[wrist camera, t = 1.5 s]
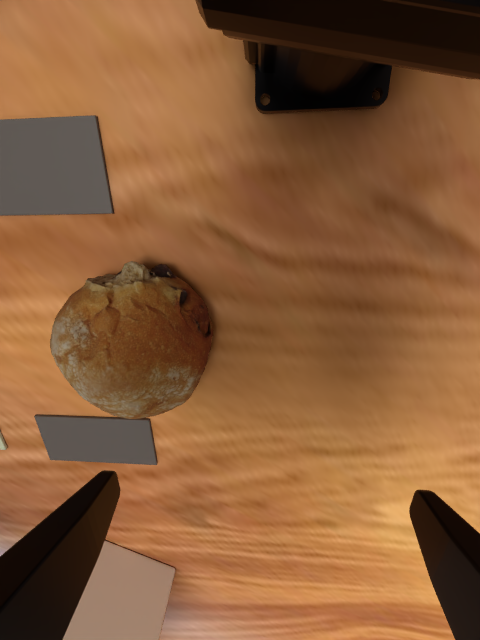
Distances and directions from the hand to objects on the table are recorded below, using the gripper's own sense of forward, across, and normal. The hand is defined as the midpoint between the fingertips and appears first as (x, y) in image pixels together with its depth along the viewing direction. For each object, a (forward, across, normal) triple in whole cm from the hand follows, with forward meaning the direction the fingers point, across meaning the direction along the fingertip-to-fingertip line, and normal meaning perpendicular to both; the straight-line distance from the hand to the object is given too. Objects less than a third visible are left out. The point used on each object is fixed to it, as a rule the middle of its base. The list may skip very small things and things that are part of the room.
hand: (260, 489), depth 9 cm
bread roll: (+12, +8, 0) cm, 15 cm away
